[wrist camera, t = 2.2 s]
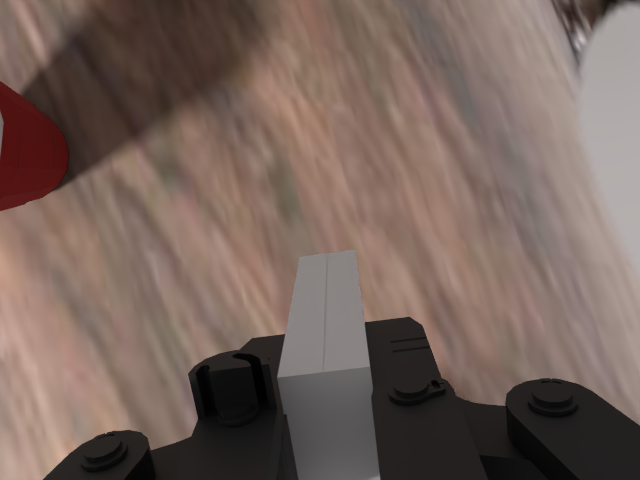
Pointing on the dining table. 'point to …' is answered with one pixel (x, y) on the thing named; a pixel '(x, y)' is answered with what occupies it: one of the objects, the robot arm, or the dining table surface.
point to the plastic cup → (28, 151)
